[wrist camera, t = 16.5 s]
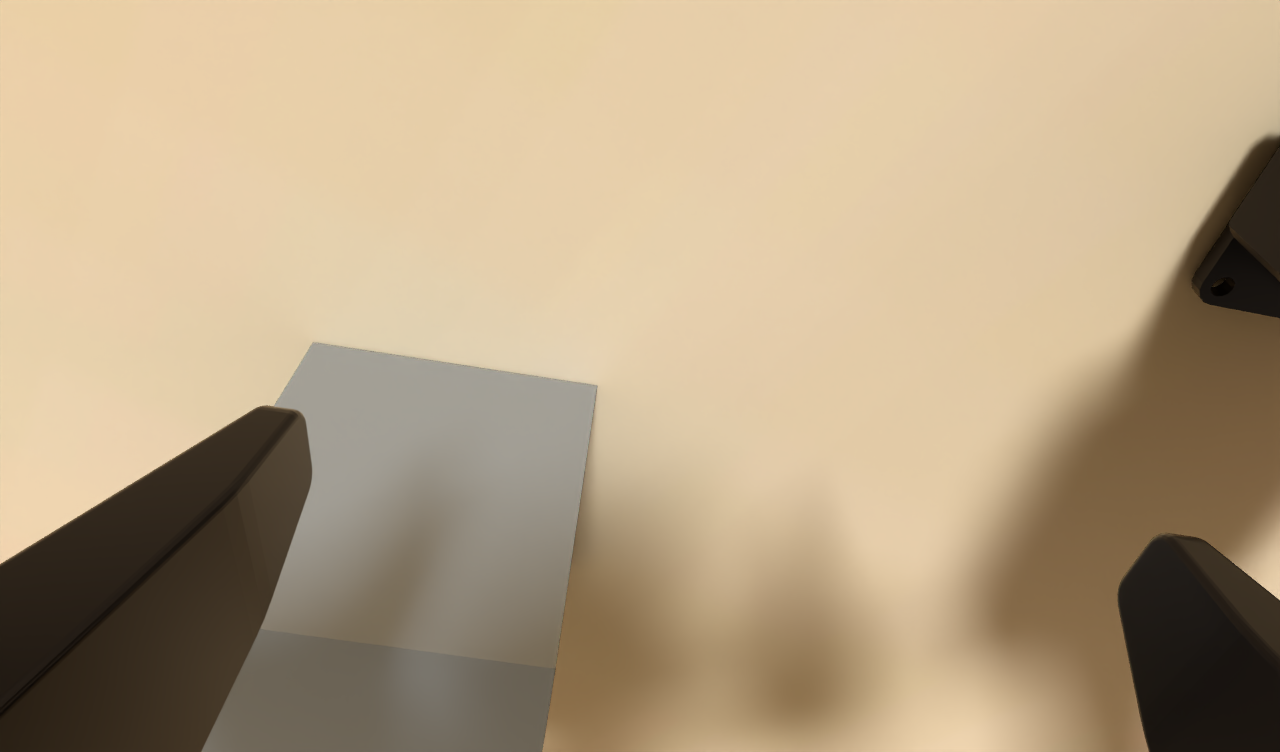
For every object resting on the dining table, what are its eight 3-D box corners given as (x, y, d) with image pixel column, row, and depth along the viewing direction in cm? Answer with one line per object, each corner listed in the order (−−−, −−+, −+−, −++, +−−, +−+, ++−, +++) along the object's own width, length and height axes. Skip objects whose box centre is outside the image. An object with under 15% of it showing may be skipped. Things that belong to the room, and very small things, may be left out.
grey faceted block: (597, 385, 23) (555, 668, 16) (568, 568, 28) (526, 848, 21) (312, 342, 23) (146, 614, 16) (332, 534, 28) (209, 808, 21)
